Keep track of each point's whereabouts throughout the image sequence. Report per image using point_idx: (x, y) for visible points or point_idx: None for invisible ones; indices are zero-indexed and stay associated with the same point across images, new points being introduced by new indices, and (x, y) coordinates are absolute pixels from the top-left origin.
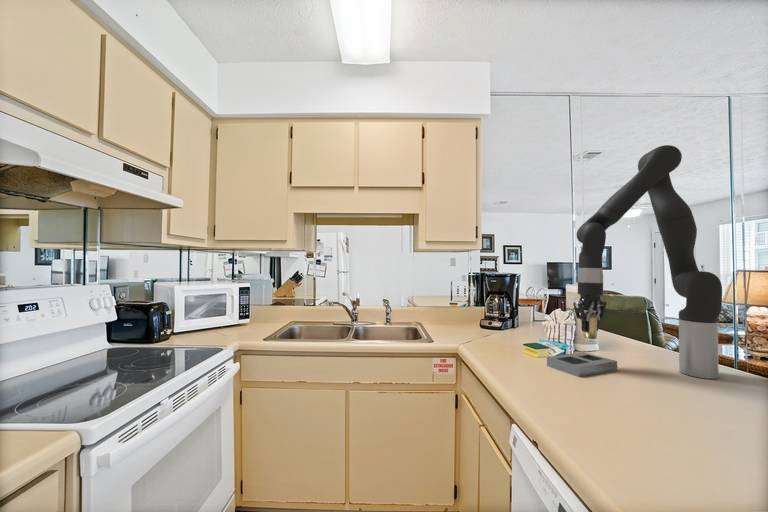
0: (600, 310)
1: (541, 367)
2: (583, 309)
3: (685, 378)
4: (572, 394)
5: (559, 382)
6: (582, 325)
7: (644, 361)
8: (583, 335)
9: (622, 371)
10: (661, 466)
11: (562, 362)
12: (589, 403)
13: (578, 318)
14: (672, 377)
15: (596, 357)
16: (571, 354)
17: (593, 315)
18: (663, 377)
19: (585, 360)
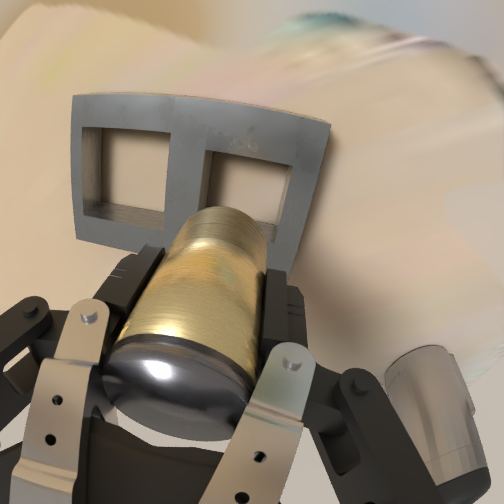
0: (349, 472)
1: (72, 95)
2: (9, 420)
3: (360, 367)
4: (19, 266)
5: (30, 216)
6: (110, 283)
7: (480, 269)
8: (186, 222)
9: (296, 273)
10: (17, 361)
11: (72, 172)
12: (23, 297)
13: (40, 307)
14: (347, 355)
15: (283, 207)
16: (214, 113)
17: (148, 424)
18: (328, 346)
19: (169, 208)
